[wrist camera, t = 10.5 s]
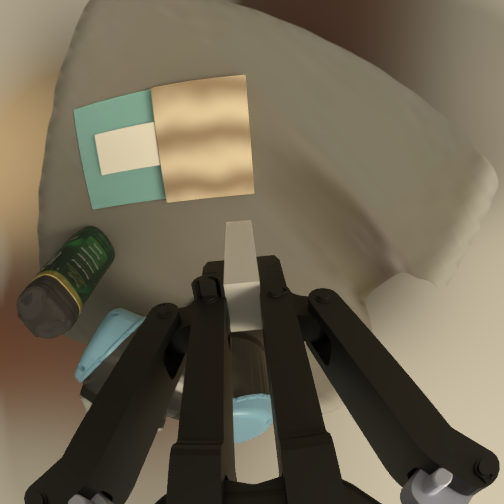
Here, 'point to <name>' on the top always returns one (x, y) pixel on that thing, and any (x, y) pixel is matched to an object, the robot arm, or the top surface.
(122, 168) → the card
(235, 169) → the tan flat block
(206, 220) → the top surface
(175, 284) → the top surface
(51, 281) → the coffee jar
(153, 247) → the top surface
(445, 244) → the top surface
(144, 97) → the mat
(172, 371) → the robot arm
